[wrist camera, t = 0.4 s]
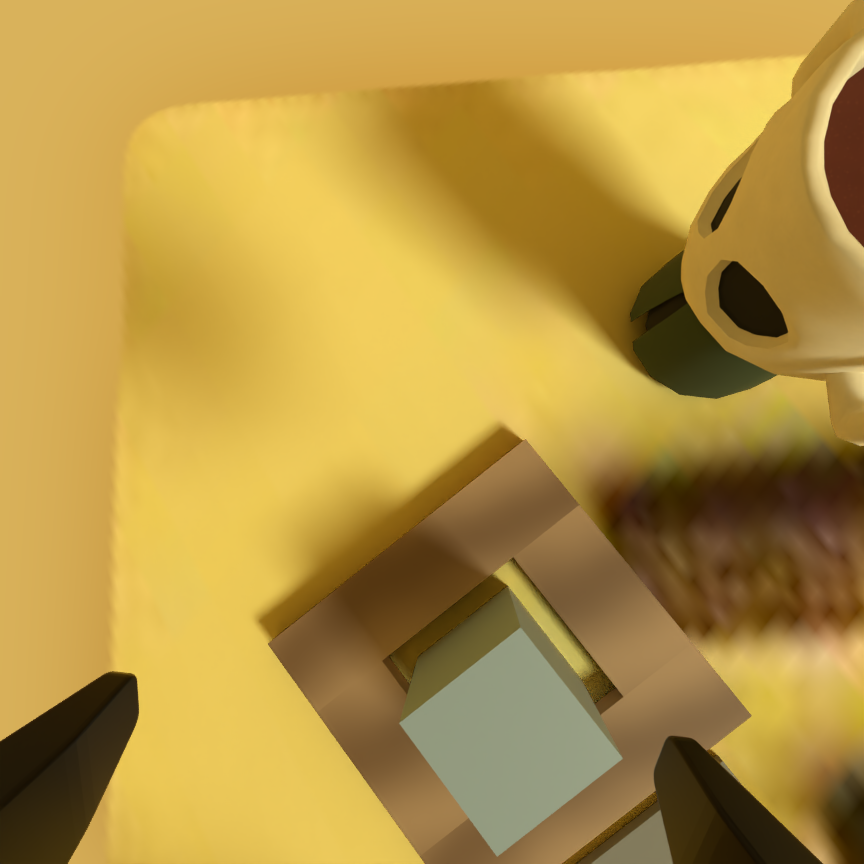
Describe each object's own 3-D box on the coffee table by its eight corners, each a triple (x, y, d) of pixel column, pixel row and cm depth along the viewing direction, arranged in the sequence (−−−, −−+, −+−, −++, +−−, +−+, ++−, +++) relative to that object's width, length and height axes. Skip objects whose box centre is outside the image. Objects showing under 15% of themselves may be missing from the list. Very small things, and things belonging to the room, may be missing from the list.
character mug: (605, 217, 23) (769, -92, 10) (770, 201, 23) (1157, -144, 10) (627, 459, 23) (834, 448, 10) (799, 448, 22) (1260, 421, 9)
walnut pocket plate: (738, 704, 22) (751, 715, 21) (473, 910, 22) (473, 931, 21) (523, 440, 23) (525, 439, 22) (276, 636, 23) (267, 644, 22)
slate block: (582, 680, 22) (622, 758, 16) (490, 752, 22) (497, 856, 16) (507, 585, 23) (520, 627, 17) (418, 656, 23) (399, 723, 17)
